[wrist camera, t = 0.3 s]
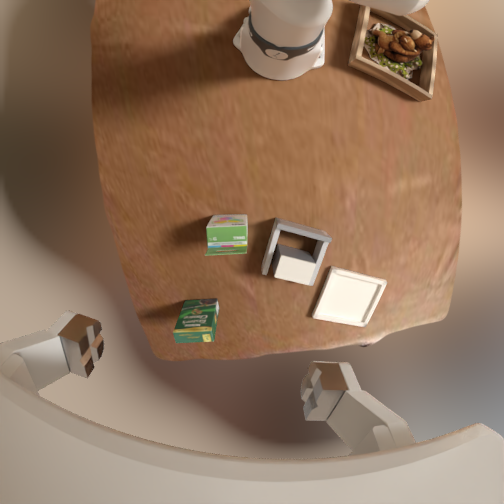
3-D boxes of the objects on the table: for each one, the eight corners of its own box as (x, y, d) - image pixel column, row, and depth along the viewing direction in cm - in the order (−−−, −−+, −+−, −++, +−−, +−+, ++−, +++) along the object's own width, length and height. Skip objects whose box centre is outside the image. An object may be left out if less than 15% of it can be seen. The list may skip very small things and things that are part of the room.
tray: (331, 265, 58) (333, 268, 57) (384, 279, 60) (387, 282, 58) (311, 314, 62) (312, 317, 61) (363, 323, 64) (365, 327, 62)
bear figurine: (377, 16, 38) (399, -5, 27) (424, 57, 41) (452, 45, 29) (351, 45, 42) (373, 24, 30) (403, 89, 45) (433, 79, 33)
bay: (275, 217, 55) (278, 223, 50) (325, 231, 56) (331, 238, 51) (261, 266, 58) (262, 276, 53) (309, 277, 59) (313, 288, 54)
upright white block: (277, 243, 57) (281, 255, 50) (308, 251, 57) (316, 264, 51) (271, 263, 58) (274, 277, 51) (302, 270, 59) (308, 285, 52)
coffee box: (218, 297, 61) (211, 331, 48) (220, 308, 62) (214, 343, 49) (184, 299, 61) (170, 332, 49) (187, 309, 62) (174, 343, 50)
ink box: (247, 213, 54) (246, 230, 42) (248, 232, 56) (247, 254, 43) (213, 214, 54) (201, 232, 42) (214, 233, 56) (203, 256, 43)
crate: (360, 4, 37) (367, -5, 32) (427, 40, 39) (437, 34, 34) (347, 65, 43) (355, 58, 39) (419, 101, 45) (431, 99, 40)
